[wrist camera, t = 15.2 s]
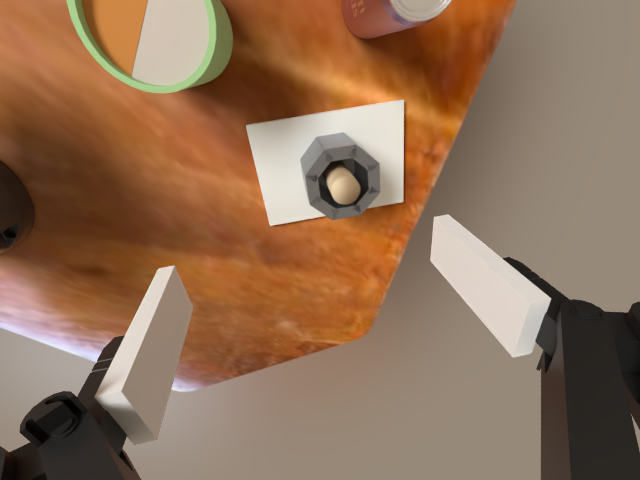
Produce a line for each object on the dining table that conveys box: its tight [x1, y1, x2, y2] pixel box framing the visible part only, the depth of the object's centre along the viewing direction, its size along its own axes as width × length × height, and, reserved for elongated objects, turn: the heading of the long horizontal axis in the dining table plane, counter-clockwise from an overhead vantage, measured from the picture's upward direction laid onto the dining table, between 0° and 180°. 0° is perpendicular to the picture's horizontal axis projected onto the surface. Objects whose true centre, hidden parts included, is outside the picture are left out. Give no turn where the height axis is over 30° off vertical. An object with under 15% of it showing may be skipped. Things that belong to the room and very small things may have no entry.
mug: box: [67, 0, 233, 93], centre depth 27 cm, size 13×10×12 cm
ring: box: [300, 132, 380, 220], centre depth 39 cm, size 9×9×7 cm
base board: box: [246, 99, 404, 226], centre depth 42 cm, size 20×14×1 cm
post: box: [322, 160, 360, 204], centre depth 38 cm, size 3×3×9 cm
